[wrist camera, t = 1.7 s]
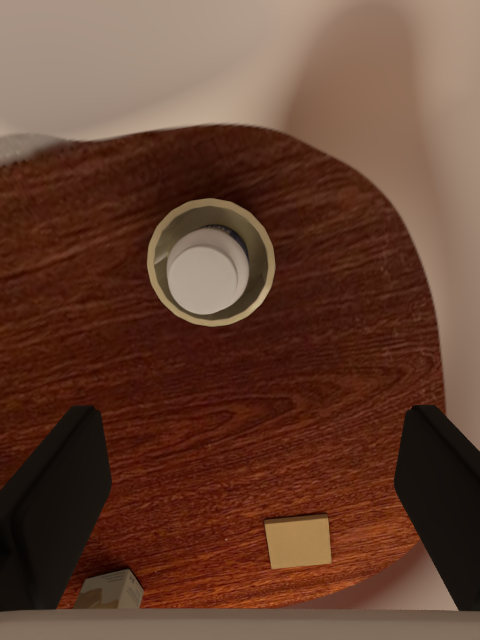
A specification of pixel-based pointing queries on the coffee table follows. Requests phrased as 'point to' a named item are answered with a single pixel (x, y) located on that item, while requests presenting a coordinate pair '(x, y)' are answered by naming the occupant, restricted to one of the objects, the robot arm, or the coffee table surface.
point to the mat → (298, 541)
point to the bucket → (197, 217)
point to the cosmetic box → (110, 592)
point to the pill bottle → (208, 269)
